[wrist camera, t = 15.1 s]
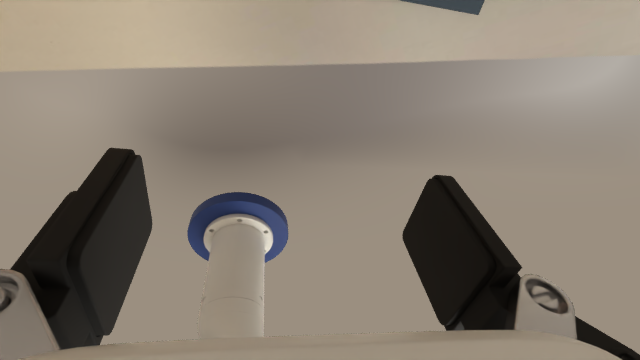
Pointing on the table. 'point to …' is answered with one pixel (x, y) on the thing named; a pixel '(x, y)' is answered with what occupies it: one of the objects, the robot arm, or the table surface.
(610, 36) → the table surface
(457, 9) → the mat
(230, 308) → the robot arm
